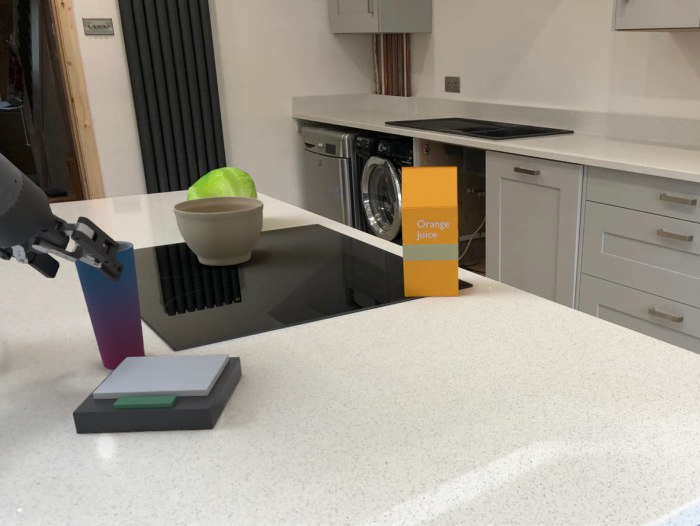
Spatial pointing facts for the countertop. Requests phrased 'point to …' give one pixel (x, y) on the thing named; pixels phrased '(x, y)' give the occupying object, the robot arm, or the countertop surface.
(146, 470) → the countertop surface
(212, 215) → the planter bowl
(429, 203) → the orange juice
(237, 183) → the lettuce
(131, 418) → the scale
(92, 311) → the cup
